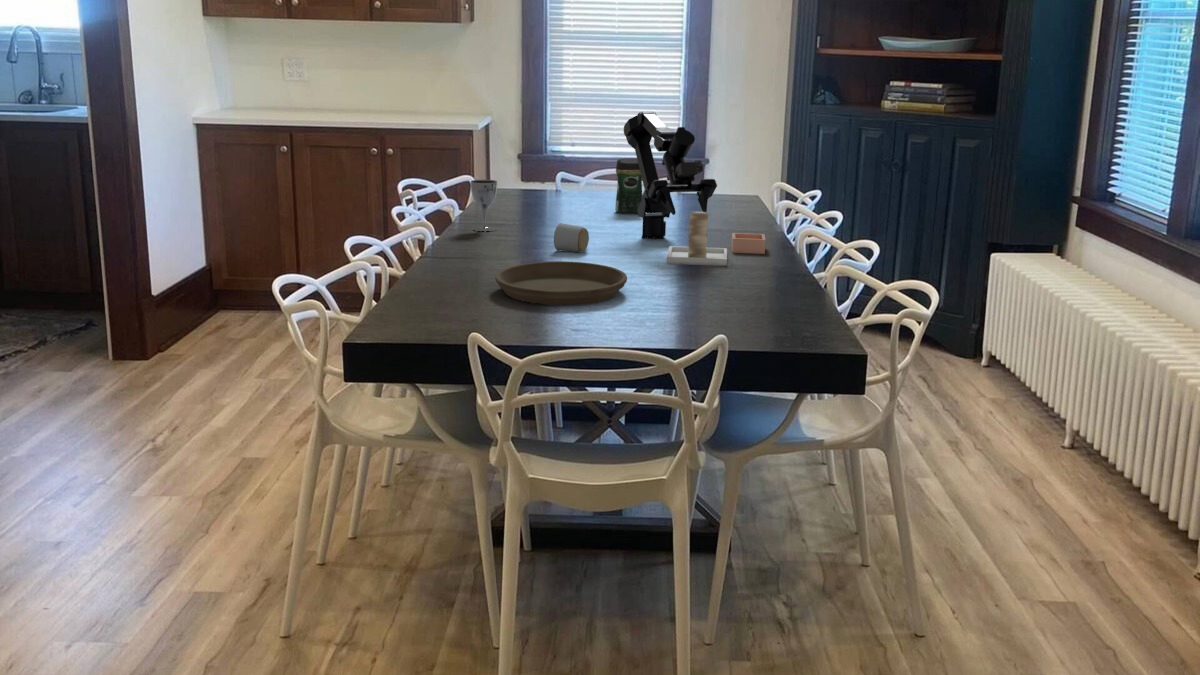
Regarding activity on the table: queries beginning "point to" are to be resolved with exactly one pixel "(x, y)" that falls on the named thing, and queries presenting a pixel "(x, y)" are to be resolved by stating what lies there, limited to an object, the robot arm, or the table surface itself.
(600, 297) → the plant saucer
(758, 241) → the cup holder
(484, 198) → the wine glass
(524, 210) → the table surface
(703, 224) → the beech cylinder
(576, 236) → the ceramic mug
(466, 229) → the table surface
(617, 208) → the coffee jar
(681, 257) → the grey tray
